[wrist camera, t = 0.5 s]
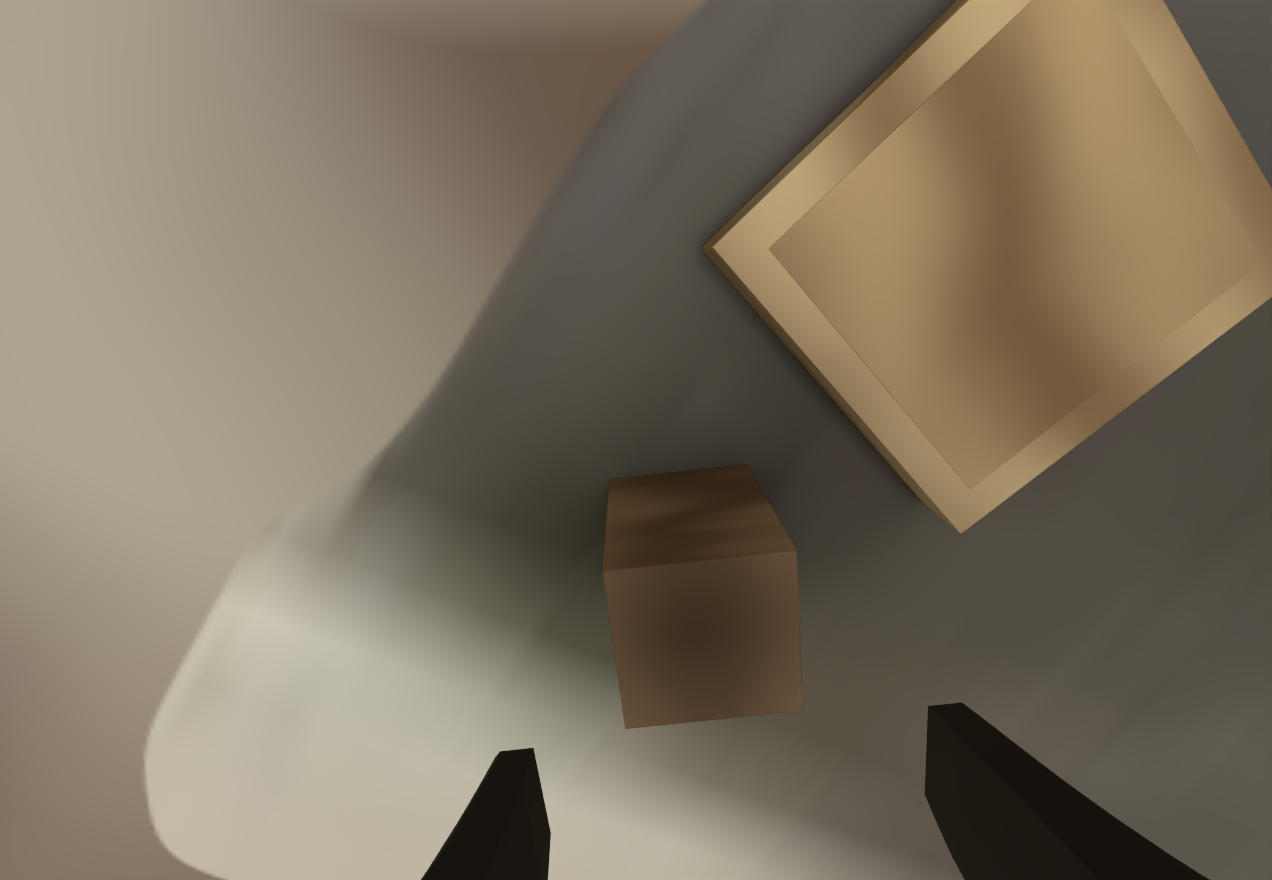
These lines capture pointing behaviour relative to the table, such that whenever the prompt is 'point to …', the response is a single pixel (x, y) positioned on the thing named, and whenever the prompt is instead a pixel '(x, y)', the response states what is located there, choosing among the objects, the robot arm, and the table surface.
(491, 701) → the table surface
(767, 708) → the walnut block
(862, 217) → the oak plinth
